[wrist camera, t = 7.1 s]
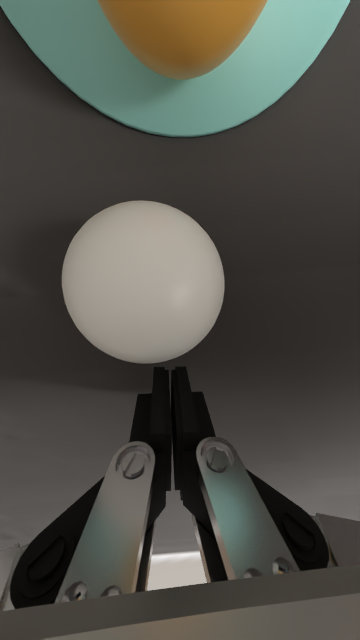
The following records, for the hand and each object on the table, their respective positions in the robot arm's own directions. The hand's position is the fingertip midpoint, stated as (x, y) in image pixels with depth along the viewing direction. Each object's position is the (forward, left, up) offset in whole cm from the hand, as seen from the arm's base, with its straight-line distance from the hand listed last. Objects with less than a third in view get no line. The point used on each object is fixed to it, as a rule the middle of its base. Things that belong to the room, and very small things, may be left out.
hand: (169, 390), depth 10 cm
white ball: (+5, -2, +1) cm, 6 cm away
